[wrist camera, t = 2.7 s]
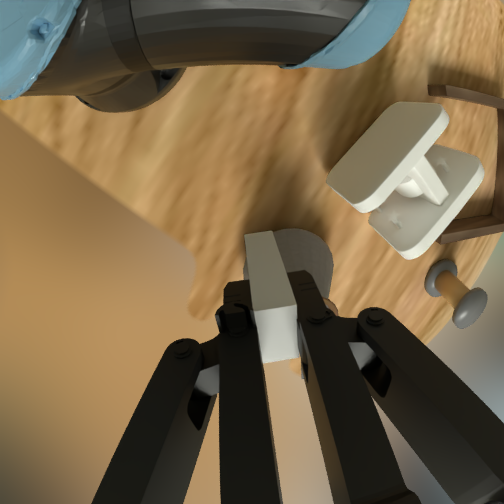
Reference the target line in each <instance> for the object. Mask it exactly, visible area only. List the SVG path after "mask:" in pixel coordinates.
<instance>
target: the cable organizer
mask: <svg viewBox="0 0 504 504" xmlns="http://www.w3.org/2000/svg"><path fill="white" fill-rule="evenodd" d="M448 123H449V116H448V114H447V112H446V111H445V109H444V108H443V106H442V105H441V104H438V103H425V102H396V103H394V104H392V105H391V106H389V107H388V108H387V109H386V110H385V111H384V112H383V113H382V114H381V115H380V116H379V117H378V118H377V119H376V120H375V122H374V123H373V124H372V125H371V126H370V127H369V128H368V129H367V130H366V132H365V133H364V134H363V135H362V136H361V137H360V138H359V139H358V140H357V142H356V143H355V144H354V145H353V146H352V147H351V148H350V149H349V150H348V152H347V153H346V154H345V155H344V156H343V157H342V158H341V159H340V160H339V161H338V163H337V164H336V165H335V166H334V167H333V168H332V170H331V171H330V172H329V174H328V176H327V179H326V183H327V184H328V185H329V186H330V187H331V188H332V189H333V190H334V191H335V192H336V193H338V194H339V195H340V196H341V197H342V198H344V199H345V200H346V201H347V202H348V203H350V204H351V205H352V206H353V207H354V208H356V209H357V210H358V211H359V212H361V213H367V212H370V211H372V212H371V214H370V216H369V220H368V222H369V224H370V225H371V226H372V227H373V228H374V230H375V231H376V232H377V233H379V234H380V235H381V236H382V237H383V238H384V239H385V240H386V241H387V242H388V243H389V244H390V245H391V246H392V247H393V248H394V249H395V250H396V251H397V252H398V253H399V254H400V255H401V256H402V257H403V258H405V259H408V260H410V259H414V258H417V257H419V256H420V255H422V254H423V253H424V252H425V251H426V250H427V249H428V248H429V247H430V246H431V245H432V243H433V242H434V241H435V240H436V239H437V238H438V237H439V235H440V234H441V233H442V232H443V231H444V230H445V228H446V227H447V226H448V225H449V224H450V222H451V221H452V220H453V219H454V218H455V216H456V215H457V214H458V213H459V211H460V210H461V209H462V208H463V206H464V205H465V204H466V202H467V201H468V200H469V198H470V197H471V196H472V195H473V193H474V192H475V191H476V189H477V188H478V186H479V185H480V184H481V182H482V180H483V178H484V168H483V166H482V164H481V162H480V160H479V158H478V157H477V156H474V155H471V154H468V153H465V152H462V151H459V150H455V149H452V148H449V147H445V146H442V145H437V144H436V145H433V143H434V142H435V141H436V140H437V139H438V137H439V136H440V135H441V134H442V132H443V131H444V130H445V128H446V127H447V125H448Z"/></svg>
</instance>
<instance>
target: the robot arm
mask: <svg viewBox="0 0 504 504" xmlns="http://www.w3.org/2000/svg"><path fill="white" fill-rule="evenodd" d="M410 1H411V0H0V98H1V99H2V100H7V99H8V100H11V99H15V98H17V97H19V96H43V95H73V96H76V97H77V98H78V99H79V100H80V101H81V102H82V103H84V104H85V105H87V106H88V107H90V108H93V109H95V110H98V111H102V112H109V113H119V112H130V111H135V110H138V109H141V108H144V107H146V106H148V105H151V104H152V103H154V102H156V101H157V100H159V99H160V98H162V97H163V96H164V95H166V94H167V93H168V92H169V91H170V90H171V89H172V88H173V87H174V86H175V85H176V83H177V82H178V81H179V80H180V78H181V77H182V75H183V73H184V72H185V70H186V68H187V67H193V66H208V65H278V66H279V67H280V68H283V69H297V68H302V67H315V68H328V69H344V68H348V67H350V66H353V65H358V64H360V63H363V62H365V61H367V60H368V59H370V58H371V57H373V56H374V55H375V54H376V53H378V52H379V51H380V50H381V49H382V48H383V47H384V46H385V45H386V44H387V43H388V41H389V40H390V39H391V38H392V36H393V35H394V34H395V32H396V31H397V29H398V27H399V26H400V24H401V22H402V20H403V18H404V16H405V14H406V12H407V10H408V7H409V4H410ZM244 237H245V246H246V255H247V263H248V272H249V279H248V280H241V281H234V282H228V284H227V285H226V287H225V288H224V299H223V303H224V304H223V305H222V306H221V307H220V308H219V309H218V310H217V311H216V314H215V318H216V321H217V325H218V328H219V332H220V333H219V334H218V335H217V336H216V337H215V338H213V339H211V340H209V341H207V342H204V343H201V344H199V343H198V342H197V341H196V340H194V339H189V338H186V339H179V340H176V341H174V342H173V343H171V344H170V345H169V346H168V347H167V349H166V350H165V352H164V354H163V356H162V358H161V360H160V362H159V364H158V366H157V368H156V370H155V371H154V373H153V375H152V378H151V379H150V382H149V383H148V385H147V388H146V389H145V391H144V393H143V395H142V397H141V399H140V401H139V403H138V405H137V407H136V409H135V411H134V413H133V416H132V418H131V420H130V422H129V424H128V426H127V428H126V430H125V432H124V434H123V436H122V438H121V440H120V443H119V445H118V447H117V449H116V451H115V453H114V455H113V457H112V459H111V462H110V464H109V466H108V468H107V470H106V472H105V475H104V477H103V479H102V481H101V483H100V486H99V488H98V490H97V492H96V494H95V497H94V499H93V501H92V503H91V504H183V502H184V499H185V496H186V493H187V490H188V487H189V484H190V480H191V477H192V474H193V471H194V468H195V465H196V461H197V458H198V455H199V452H200V449H201V445H202V442H203V439H204V436H205V433H206V430H207V426H208V423H209V420H210V416H211V413H212V410H213V407H214V404H215V400H216V397H217V393H219V450H220V452H219V453H220V494H221V504H283V501H282V494H281V487H280V480H279V473H278V466H277V459H276V452H275V446H274V438H273V431H272V424H271V417H270V410H269V402H268V395H267V388H266V381H265V374H264V368H263V363H269V362H275V361H281V360H287V359H293V358H299V353H300V357H301V373H302V379H304V380H305V384H306V388H307V392H308V395H309V400H310V404H311V408H312V412H313V416H314V420H315V424H316V429H317V432H318V437H319V441H320V445H321V450H322V454H323V458H324V462H325V467H326V471H327V475H328V480H329V484H330V488H331V493H332V497H333V501H334V504H421V502H420V500H419V498H418V496H417V495H416V494H415V493H414V492H412V491H410V490H409V489H407V487H406V485H405V483H404V480H403V478H402V475H401V472H400V469H399V466H398V463H397V461H396V458H395V455H394V453H393V450H392V447H391V445H390V442H389V440H388V437H387V434H386V432H385V429H384V427H383V424H382V421H381V419H380V416H379V414H378V412H377V409H376V406H375V405H374V402H373V399H374V400H375V401H376V402H377V404H378V405H379V406H380V408H381V409H382V410H383V411H384V413H385V414H386V415H387V416H388V418H389V419H390V420H391V422H392V423H393V424H394V426H395V427H396V428H397V429H398V431H399V432H400V433H401V434H402V436H403V437H404V439H405V440H406V441H407V442H408V444H409V445H410V446H411V448H412V449H413V450H414V451H415V453H416V454H417V455H418V456H419V458H420V459H421V460H422V462H423V463H424V464H425V466H426V467H427V468H428V470H429V471H430V472H431V474H432V475H433V476H434V477H435V479H436V480H437V481H438V483H439V484H440V485H441V487H442V488H443V489H444V490H445V492H446V493H447V494H448V496H449V497H450V498H451V500H452V501H453V502H454V503H455V504H504V423H503V422H502V421H501V420H500V419H499V418H498V417H497V416H496V415H495V414H494V413H493V412H492V410H491V409H490V408H489V407H488V406H487V405H486V404H485V403H484V402H483V401H482V400H481V399H480V398H479V397H478V396H477V395H476V394H475V393H474V392H473V391H472V390H471V389H470V388H469V387H468V386H467V385H466V384H465V383H464V382H463V381H462V380H461V379H460V378H459V377H458V376H457V375H456V374H455V373H453V371H452V370H451V369H450V368H448V367H447V365H445V364H444V363H443V362H442V361H441V360H440V359H439V358H438V357H437V356H436V355H435V354H434V353H433V352H432V351H431V350H430V349H429V348H428V347H426V346H425V345H424V344H423V343H422V342H421V341H420V340H419V339H418V338H417V337H416V336H415V335H414V334H413V333H411V332H410V331H409V330H408V329H407V328H406V327H405V326H404V325H403V324H402V323H400V322H399V321H398V320H397V319H396V318H395V317H394V316H393V315H392V314H391V313H389V312H388V311H386V310H385V309H382V308H378V307H370V308H366V309H364V310H363V311H361V312H360V313H359V315H358V318H344V317H339V316H336V315H335V313H334V312H333V311H332V310H331V309H329V308H327V307H326V305H325V302H324V300H323V298H322V296H321V294H320V291H319V289H318V288H317V285H316V283H315V281H314V278H313V276H312V275H311V274H310V273H308V272H307V271H306V270H301V271H294V272H288V273H286V270H285V267H284V264H283V261H282V258H281V255H280V253H279V250H278V247H277V244H276V241H275V238H274V235H273V232H272V230H271V231H265V232H258V233H251V234H245V235H244ZM371 396H372V397H373V399H372V397H371Z"/></svg>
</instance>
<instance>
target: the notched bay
mask: <svg viewBox="0 0 504 504" xmlns="http://www.w3.org/2000/svg"><path fill="white" fill-rule="evenodd" d="M428 91H429V95H430V96H437V97H444V98H450V99H456V100H462V101H467V102H472V103H477V104H481V105H486V106H490V107H494V108H497V111H498V155H497V172H496V183H495V193H494V201H493V208H492V214H491V215H485V216H478V217H471V218H464V219H457V220H452V221H451V222H450V224H449V225H448V226H447V227H446V228H445V230H444V231H443V232H442V233H441V234H440V235H439V237H438V238H437V239H436V240H435V241H437V242H438V243H439V244H445V243H450V242H455V241H460V240H465V239H470V238H475V237H480V236H485V235H489V234H494V233H499V232H503V231H504V99H502V98H498V97H495V96H491V95H488V94H484V93H480V92H476V91H472V90H468V89H464V88H459V87H454V86H449V85H428Z"/></svg>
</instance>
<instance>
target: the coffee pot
mask: <svg viewBox="0 0 504 504" xmlns="http://www.w3.org/2000/svg"><path fill="white" fill-rule="evenodd" d="M273 235H274V238H275V241H276V244H277V247H278V250H279V253H280V255H281V258H282V261H283V264H284V267H285V270H286V273H288V272H294V271H301V270H306V271H307V272H308V273H310V274H311V275H312V276H313V278H314V281H315V283H316V285H317V288H318V289H319V291H320V294H321V296H322V298H323V300H324V302H325V305H326V307H327V308H329V309H331V310H332V311H333V312H334V313H335V315H336V316H338V310H337V308H336V306H335V304H334V303H333V302H331V301H330V300H329V299H328V297H329V292H330V286H331V280H332V273H333V266H334V264H333V258H332V253H331V251H330V249H329V247H328V245H327V244H326V243H325V242H324V241H323V240H322V239H321V238H320V237H319V236H317V235H315V234H314V233H312V232H310V231H307V230H302V229H298V228H292V229H282V230H278V231H275V232H273ZM243 274H244V280H248V279H249V272H248V263H247V257H246V261H245V264H244V268H243Z"/></svg>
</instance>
